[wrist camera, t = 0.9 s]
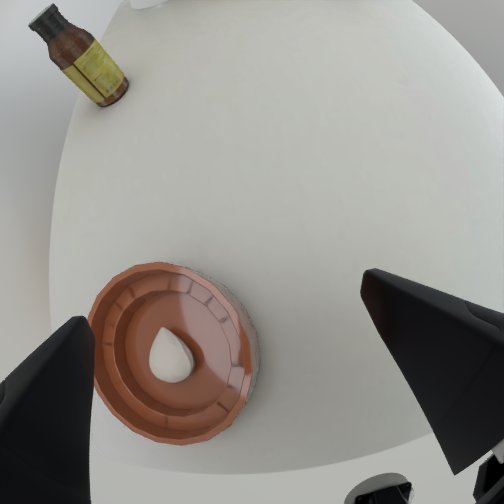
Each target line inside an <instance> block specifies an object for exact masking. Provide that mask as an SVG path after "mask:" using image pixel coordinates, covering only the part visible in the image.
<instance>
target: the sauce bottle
mask: <svg viewBox="0 0 504 504" xmlns="http://www.w3.org/2000/svg"><path fill="white" fill-rule="evenodd" d="M28 26H29V27H30V29H31V30H33V31H36V32H37V33H38V34H39V35H40V36H41V37H42V38H43V40H44V41H45V42H46V43H47V46H48V51H49V57H50V59H51V60H52V61H53V62H54V63H55V64H56V65H57V66H58V67H59V68H60V70H61V71H62V72H63V73H64V74H65V75H66V76H67V77H68V78H69V79H70V80H71V81H72V82H73V83H74V84H75V85H76V86H77V87H78V88H79V89H81V90H82V91H83V92H84V93H85V94H86V95H87V96H88V97H89V98H90V99H91V100H92V101H93V102H96V103H97V104H98V105H99V106H106V105H109V104H111V103H113V102H114V101H116V100H117V99H118V98H119V97H121V96H122V94H123V93H124V92H125V90H126V89H127V86H128V80H127V78H126V77H125V76H124V73H123V72H122V71H121V69H120V68H119V67H118V66H117V64H116V63H115V62H114V61H113V60H112V58H111V57H110V56H109V55H108V54H107V52H106V51H105V50H104V49H103V48H102V46H101V45H100V44H99V43H98V42H97V40H96V39H95V38H94V37H93V36H92V35H91V34H90V33H88V32H87V31H86V30H84V29H81V28H78V27H76V26H75V25H73V24H71V23H69V22H68V21H67V20H66V19H65V18H64V17H63V16H62V15H61V13H60V12H59V11H58V8H57V7H56V6H55V4H51V5H49V6H48V7H46V8H45V9H44V10H43V11H42V12H41V13H39V14H38V15H37V16H36V17H35V18H34V19H33V20H32V21H31V22H30V23H29V25H28Z"/></svg>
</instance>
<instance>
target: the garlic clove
mask: <svg viewBox="0 0 504 504" xmlns="http://www.w3.org/2000/svg"><path fill="white" fill-rule="evenodd" d="M149 365H150V368H151V371H152V373H153V374H154V375H155V376H156V377H157V378H158V379H160V380H162V381H165V382H168V383H176V382H179V381H182V380H184V379H185V378H187V377H189V376H190V375H191V374H192V373H193V371H194V369H195V365H196V362H195V358H194V355H193V353H192V351H191V350H190V349H189V347H188V346H187V345H186V344H185V343H184V342H183V341H182V340H181V339H180V338H179V337H178V336H176V335H175V334H174V333H172V332H171V331H169V330H168V329H166V328H164V327H162V328H161V329H160V330H159V332H158V334H157V336H156V338H155V340H154V342H153V344H152V347H151V350H150V357H149Z"/></svg>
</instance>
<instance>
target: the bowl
mask: <svg viewBox="0 0 504 504" xmlns="http://www.w3.org/2000/svg"><path fill="white" fill-rule="evenodd" d="M87 321H88V323H89V325H90V327H91V329H92V331H93V333H94V335H95V339H96V349H95V374H94V386H95V389H96V391H97V393H98V394H99V396H100V397H101V399H102V400H103V402H104V403H105V405H106V406H107V407H108V409H109V410H110V411H111V413H112V414H113V415H114V416H115V417H116V418H117V419H119V420H120V421H121V422H122V423H123V424H124V425H126V426H127V427H128V428H129V429H131V430H132V431H133V432H135V433H138V434H140V435H142V436H144V437H146V438H148V439H151V440H153V441H155V442H159V443H166V444H173V445H188V444H193V443H198V442H203V441H207V440H209V439H211V438H212V437H214V436H216V435H217V434H219V433H220V432H222V431H223V430H225V429H226V428H228V427H229V426H230V425H231V424H232V423H233V421H234V420H235V418H236V417H237V415H238V414H239V412H240V411H241V410H242V408H243V407H244V405H245V404H246V402H247V400H248V398H249V396H250V395H251V393H252V391H253V389H254V387H255V383H256V378H257V374H258V369H259V365H260V357H259V348H258V339H257V333H256V331H255V329H254V327H253V325H252V322H251V320H250V318H249V316H248V313H247V311H246V309H245V308H244V307H243V306H242V304H241V303H240V302H239V301H238V300H237V299H236V298H235V297H234V295H233V294H232V293H231V292H230V291H229V290H228V289H227V288H226V287H224V286H223V285H221V284H219V283H218V282H216V281H214V280H213V279H211V278H209V277H208V276H206V275H204V274H202V273H199V272H197V271H194V270H192V269H189V268H187V267H182V266H178V265H173V264H168V263H164V262H154V263H147V264H140V265H135V266H133V267H131V268H129V269H127V270H126V271H124V272H122V273H120V274H118V275H116V276H115V277H113V278H112V279H111V281H110V282H109V283H108V284H107V285H106V286H105V287H104V288H103V290H102V291H101V292H100V293H99V294H98V296H97V297H96V300H95V302H94V304H93V306H92V309H91V311H90V313H89V316H88V319H87ZM162 327H164V328H166V329H168V330H169V331H171V332H172V333H174V334H175V335H176V336H178V337H179V338H180V339H181V340H182V341H183V342H184V343H185V344H186V345H187V346H188V347H189V349H190V350H191V351H192V353H193V355H194V358H195V362H196V365H195V369H194V371H193V373H192V374H191V375H190V376H189V377H187V378H185V379H184V380H182V381H179V382H176V383H168V382H165V381H162V380H160V379H158V378H157V377H156V376H155V375H154V374H153V373H152V371H151V368H150V365H149V357H150V350H151V347H152V344H153V342H154V340H155V338H156V336H157V334H158V332H159V330H160V329H161V328H162Z"/></svg>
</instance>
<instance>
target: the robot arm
mask: <svg viewBox="0 0 504 504" xmlns="http://www.w3.org/2000/svg"><path fill="white" fill-rule="evenodd" d="M360 294H361V298H362V300H363V302H364V304H365V306H366V308H367V310H368V312H369V314H370V316H371V318H372V321H373V323H374V325H375V327H376V329H377V331H378V333H379V334H380V336H381V338H382V340H383V341H384V343H385V345H386V346H387V348H388V350H389V351H390V353H391V355H392V356H393V358H394V360H395V361H396V363H397V365H398V367H399V368H400V370H401V372H402V374H403V375H404V377H405V379H406V381H407V382H408V384H409V386H410V388H411V390H412V391H413V393H414V395H415V397H416V399H417V401H418V403H419V404H420V406H421V408H422V410H423V412H424V414H425V416H426V418H427V420H428V422H429V424H430V426H431V428H432V429H433V432H434V434H435V436H436V438H437V440H438V442H439V444H440V446H441V448H442V450H443V452H444V455H445V457H446V459H447V461H448V464H449V466H450V468H451V470H452V472H453V474H454V475H456V474H458V473H459V472H461V471H463V470H464V469H465V468H467V467H468V466H470V465H471V464H473V463H474V462H475V461H477V460H478V459H479V458H481V457H482V456H483V455H485V454H486V453H487V452H489V451H490V450H492V452H493V454H492V455H491V456H490V457H489V458H488V459H487V460H486V461H485V462H484V463H483V464H482V465H480V466H479V471H478V475H477V480H476V484H475V488H474V492H473V496H474V498H475V500H476V503H475V504H504V313H501V312H497V311H494V310H491V309H488V308H485V307H482V306H480V305H477V304H474V303H471V302H469V301H466V300H463V299H461V298H458V297H455V296H453V295H450V294H447V293H444V292H442V291H439V290H436V289H433V288H431V287H428V286H425V285H422V284H419V283H417V282H414V281H411V280H408V279H405V278H402V277H400V276H397V275H394V274H391V273H388V272H385V271H382V270H379V269H376V268H374V269H369V270H366V271H365V272H364V274H363V279H362V285H361V291H360ZM95 349H96V339H95V335H94V333H93V331H92V329H91V327H90V325H89V323H88V321H87V319H86V318H85V317H84V316H74V317H72V318H71V319H69V320H68V321H67V322H66V323H65V324H64V325H63V326H61V327H60V328H59V329H58V330H57V331H56V332H55V333H53V334H52V335H51V336H50V337H49V338H48V339H47V340H46V341H44V342H43V343H42V344H41V345H40V346H39V347H38V348H37V349H36V350H35V351H34V352H33V353H31V354H30V355H29V356H28V357H27V358H26V359H25V360H24V361H23V362H22V363H21V364H20V365H19V366H18V367H17V368H16V369H15V370H13V372H11V373H10V374H9V375H8V377H6V378H5V380H3V381H2V382H1V384H0V504H91V500H90V498H91V497H90V479H89V477H90V476H89V446H90V423H91V410H92V399H93V389H94V374H95ZM407 485H408V486H407ZM411 487H412V484H411V482H406V483H403V484H399V485H396V486H393V487H390V488H386V489H382V490H379V491H375V492H371V493H367V494H362V495H358V496H356V497H355V500H354V504H409V503H408V501H409V496H410V492H411ZM360 498H361V499H360Z"/></svg>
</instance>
